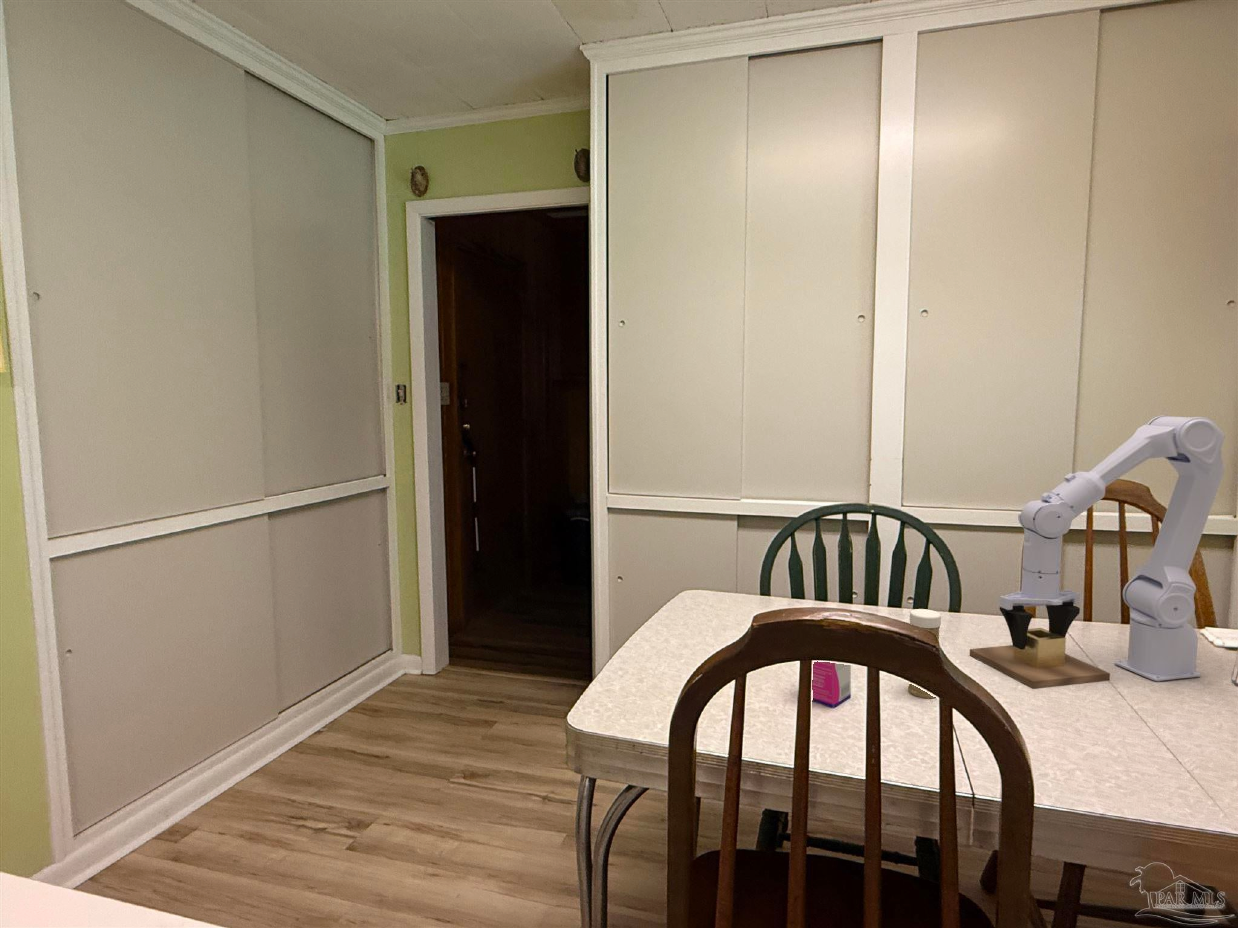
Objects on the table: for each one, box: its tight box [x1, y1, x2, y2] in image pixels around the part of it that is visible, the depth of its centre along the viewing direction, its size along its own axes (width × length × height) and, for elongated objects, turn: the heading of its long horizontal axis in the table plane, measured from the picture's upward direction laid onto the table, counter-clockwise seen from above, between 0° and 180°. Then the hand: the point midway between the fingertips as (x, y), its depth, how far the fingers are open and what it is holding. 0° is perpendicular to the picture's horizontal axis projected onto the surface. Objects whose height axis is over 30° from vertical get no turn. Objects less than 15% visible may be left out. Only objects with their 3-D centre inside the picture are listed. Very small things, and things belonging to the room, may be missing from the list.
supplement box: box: [812, 661, 852, 709], centre depth 111 cm, size 6×6×12 cm
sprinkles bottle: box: [907, 608, 942, 699], centre depth 113 cm, size 5×5×13 cm
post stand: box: [969, 637, 1111, 689], centre depth 123 cm, size 15×15×5 cm
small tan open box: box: [1014, 627, 1067, 669], centre depth 123 cm, size 5×5×5 cm
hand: (1037, 645), depth 123 cm, fingers open, 7 cm apart
